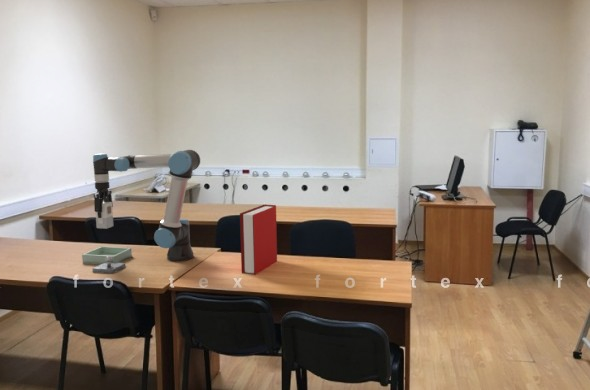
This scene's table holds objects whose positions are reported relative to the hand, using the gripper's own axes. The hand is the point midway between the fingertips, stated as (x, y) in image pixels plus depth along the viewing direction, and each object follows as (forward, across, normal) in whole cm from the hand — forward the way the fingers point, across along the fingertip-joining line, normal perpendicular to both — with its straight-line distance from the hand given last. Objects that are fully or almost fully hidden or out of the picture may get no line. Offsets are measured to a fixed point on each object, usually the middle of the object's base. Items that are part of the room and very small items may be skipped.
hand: (104, 221), depth 281 cm
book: (+23, -7, +89) cm, 92 cm away
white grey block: (+3, 0, 0) cm, 3 cm away
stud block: (+23, +13, +10) cm, 28 cm away
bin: (+23, -3, -2) cm, 23 cm away
